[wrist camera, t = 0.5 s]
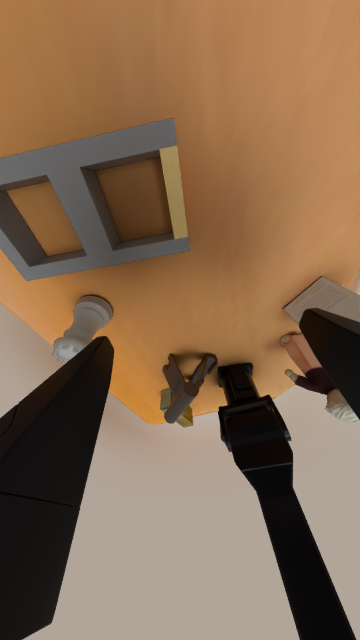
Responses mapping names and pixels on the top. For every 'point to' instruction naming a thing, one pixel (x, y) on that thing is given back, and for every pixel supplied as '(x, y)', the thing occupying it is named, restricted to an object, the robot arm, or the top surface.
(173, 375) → the portable electronic device stand
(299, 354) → the grandmother figurine
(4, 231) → the rail
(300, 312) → the skincare box
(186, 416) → the medication box
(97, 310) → the rook chess piece
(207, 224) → the top surface
